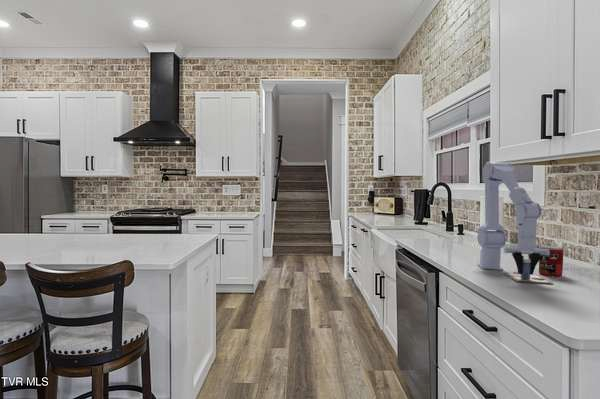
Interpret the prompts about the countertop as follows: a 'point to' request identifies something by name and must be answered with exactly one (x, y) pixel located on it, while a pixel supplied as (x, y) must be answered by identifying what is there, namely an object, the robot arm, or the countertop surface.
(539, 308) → the countertop surface
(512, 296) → the countertop surface
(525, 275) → the blue-grey cylinder
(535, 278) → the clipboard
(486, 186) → the robot arm
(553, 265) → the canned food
